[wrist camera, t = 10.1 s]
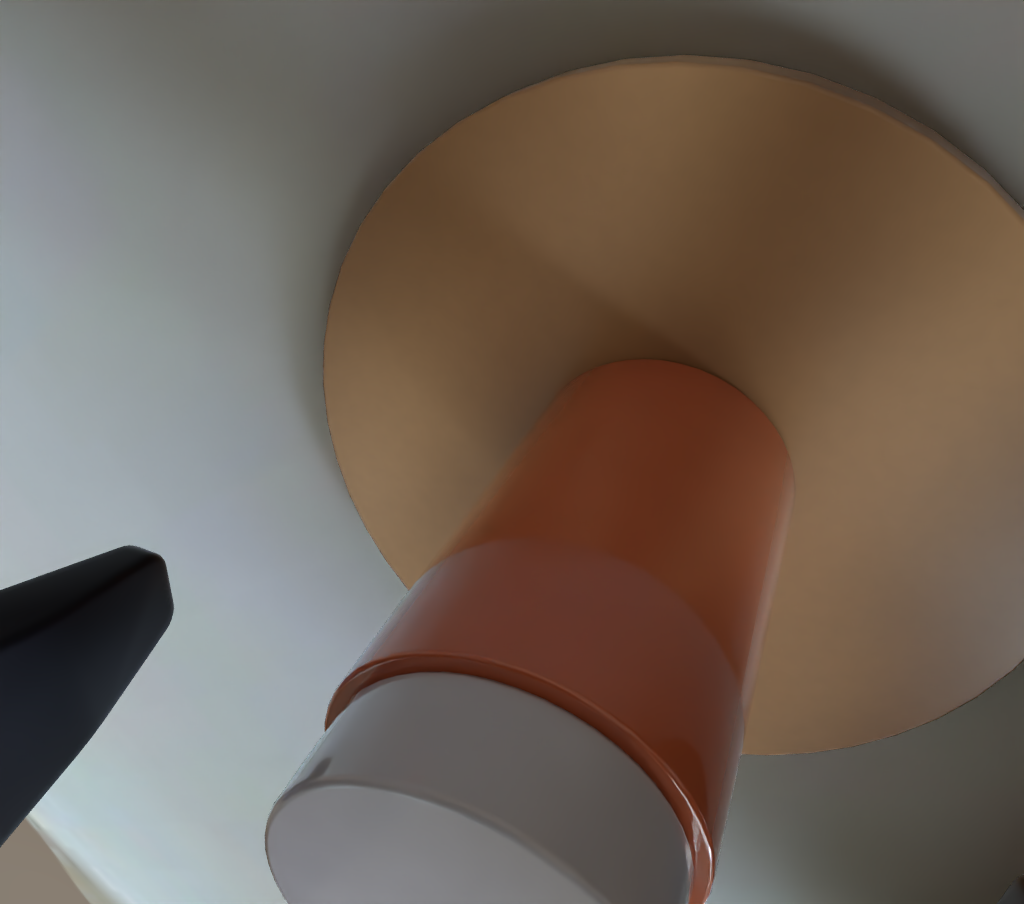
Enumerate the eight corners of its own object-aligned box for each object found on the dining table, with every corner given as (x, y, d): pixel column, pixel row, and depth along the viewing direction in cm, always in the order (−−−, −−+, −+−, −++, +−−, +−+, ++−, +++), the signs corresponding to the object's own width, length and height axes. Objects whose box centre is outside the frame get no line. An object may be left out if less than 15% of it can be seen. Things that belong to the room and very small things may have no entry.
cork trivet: (1320, 144, 8) (1344, 158, 8) (925, 816, 15) (926, 847, 14) (327, -5, 11) (301, -1, 11) (349, 607, 17) (334, 627, 17)
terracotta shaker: (830, 399, 11) (736, 908, 5) (758, 617, 13) (637, 1141, 8) (546, 328, 12) (222, 696, 6) (523, 541, 14) (265, 955, 9)
